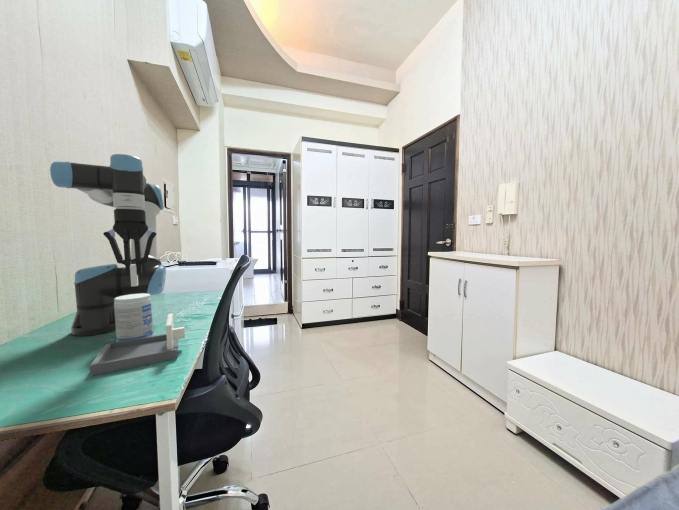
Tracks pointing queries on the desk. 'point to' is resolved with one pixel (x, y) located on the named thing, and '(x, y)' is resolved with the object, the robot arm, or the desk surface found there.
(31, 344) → the desk surface
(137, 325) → the supplement tub
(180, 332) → the pusher
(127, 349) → the gray tray
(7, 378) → the desk surface
